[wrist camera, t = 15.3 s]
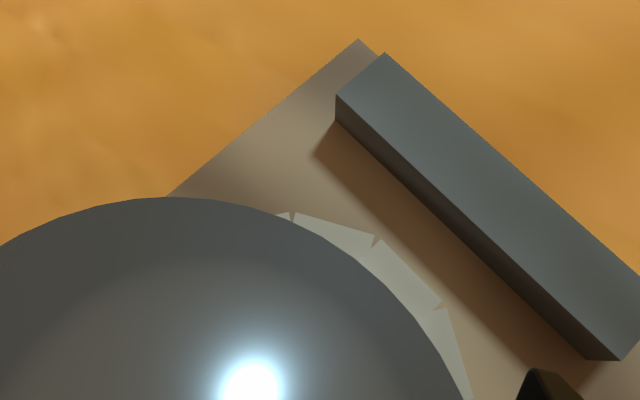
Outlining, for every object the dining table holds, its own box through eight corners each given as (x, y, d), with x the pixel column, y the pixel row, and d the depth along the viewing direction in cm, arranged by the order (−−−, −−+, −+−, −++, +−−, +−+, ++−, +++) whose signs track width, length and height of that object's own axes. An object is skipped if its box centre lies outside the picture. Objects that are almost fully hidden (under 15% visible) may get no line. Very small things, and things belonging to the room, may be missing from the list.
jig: (294, 794, 14) (286, 911, 11) (-8, 355, 17) (-74, 355, 14) (674, 338, 17) (745, 335, 14) (356, 52, 21) (361, 5, 18)
